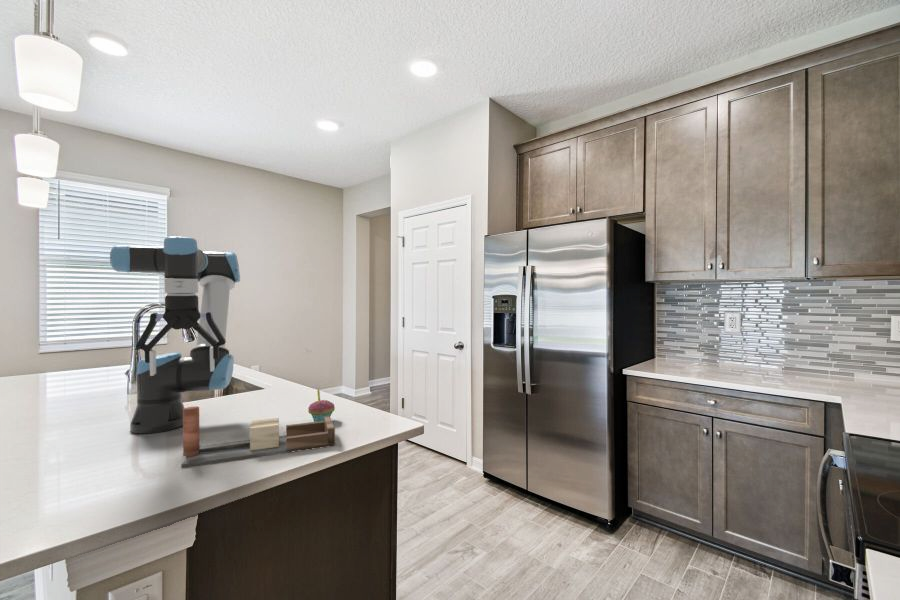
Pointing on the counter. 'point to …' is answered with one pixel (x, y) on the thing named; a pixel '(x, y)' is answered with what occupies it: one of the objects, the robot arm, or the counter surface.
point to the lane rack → (294, 440)
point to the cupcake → (321, 409)
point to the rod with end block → (260, 438)
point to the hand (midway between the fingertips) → (183, 372)
